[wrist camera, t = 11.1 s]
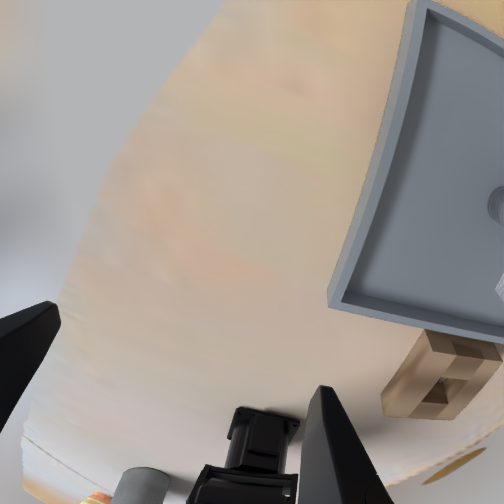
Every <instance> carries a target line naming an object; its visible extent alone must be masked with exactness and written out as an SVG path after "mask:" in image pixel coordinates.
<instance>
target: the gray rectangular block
mask: <svg viewBox="0 0 504 504" xmlns="http://www.w3.org/2000/svg"><path fill="white" fill-rule="evenodd" d="M487 208H488V213H489V215H490V217H491V218H492V219H493V220H494V221H496V222H497V223H498V224H499V225H500V226H502V227H503V228H504V186H500V187H497V188H496V189H495V190H493V192H492V193H491V195H490V197H489V199H488V204H487ZM495 290H496V292H497V293H498V295H499V296H500V297H501V299H502V300H503V301H504V273H503V275H502V277H501V278H500V280H499V282H498V284H497V286H496V288H495Z"/></svg>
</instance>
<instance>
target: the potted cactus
mask: <svg viewBox="0 0 504 504" xmlns="http://www.w3.org/2000/svg"><path fill="white" fill-rule="evenodd" d="M111 500H112V498H110V497H108V496H106V495H103V494H101V493H98V492H94V495H92V496H89V497H87V498H86V499H84V500H83V501H82V502H81V503H77V504H110V502H111Z"/></svg>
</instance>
